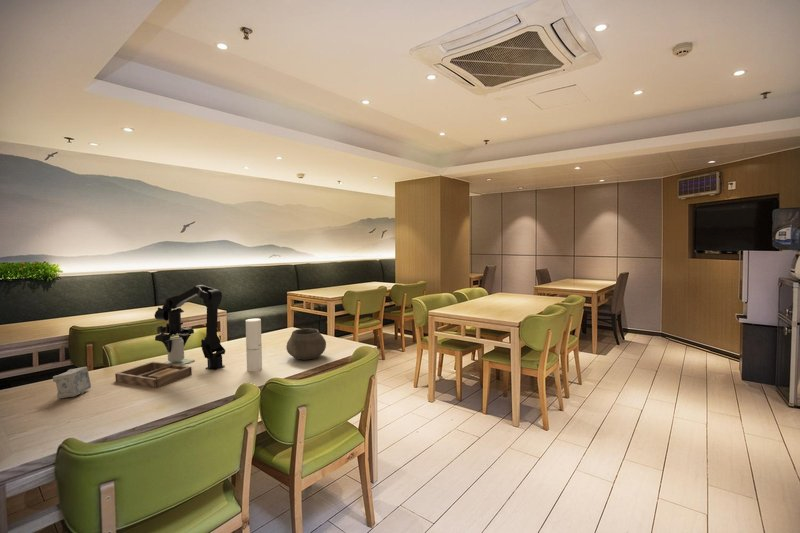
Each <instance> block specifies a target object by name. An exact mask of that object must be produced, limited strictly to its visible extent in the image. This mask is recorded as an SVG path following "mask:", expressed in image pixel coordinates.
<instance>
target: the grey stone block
mask: <svg viewBox="0 0 800 533" xmlns="http://www.w3.org/2000/svg"><path fill="white" fill-rule="evenodd" d="M52 382H54V383H55V384H56V389H57V390H56V391H57V393H56V397H57V399H59V400H60V399H64V398H71V397H76V396H78V395H84V393H85V392H86V391H87V390H90V389H91V388H92V384H91V379H90V374H89V370H88V367H87V366H82V367H77V368H70V369H68V370H67V371H66V372H63V373H60V374H58V375H54V376H52Z"/></svg>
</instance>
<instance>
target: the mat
mask: <svg viewBox="0 0 800 533" xmlns="http://www.w3.org/2000/svg"><path fill="white" fill-rule="evenodd" d="M193 362H195V359H190V358H189V359H188V358H184V359H183V360H182V361H179V362H170V361H168V360H167V361H164V362H163V363H167V364H174V365H182V366H185V365H188V364H191V363H193Z"/></svg>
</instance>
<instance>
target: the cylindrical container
mask: <svg viewBox="0 0 800 533" xmlns="http://www.w3.org/2000/svg"><path fill="white" fill-rule="evenodd" d="M262 344H263V343H262V320H261V318H257V317H256V318H249V319H245V346H246V351H245V352H246V371H247V372H250V371H254V372H259V371H261V370H263V356H262V355H263V351H262V348H263V346H262Z"/></svg>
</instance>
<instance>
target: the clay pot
mask: <svg viewBox="0 0 800 533" xmlns="http://www.w3.org/2000/svg"><path fill="white" fill-rule="evenodd" d="M285 347H286V352H287V353H288V354H289V355H290V356H292V357H293V358H294V359H298V360H303V361H304V360H306V361H307V360H312V359H315V358H318V357H320V356H321V355H322V354H323V353H324V352H325V350H326V349H327V340H326V339H325V338H324V336H323V335H322V333H320V331H319V329H318V328H309V327H307V328H299V329H295V330H293V331H292V333H291V335H290V337H289V338H288V341H287V342H286V346H285Z"/></svg>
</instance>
